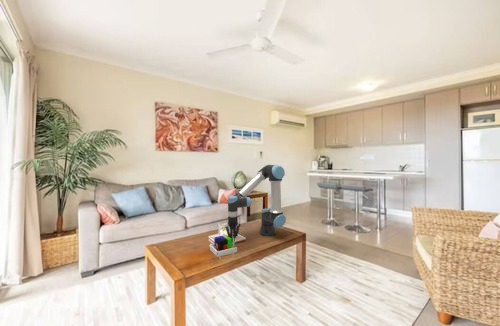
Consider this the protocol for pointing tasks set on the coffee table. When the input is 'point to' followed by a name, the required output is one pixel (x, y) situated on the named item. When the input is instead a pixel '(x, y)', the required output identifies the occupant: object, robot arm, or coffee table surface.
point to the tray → (223, 252)
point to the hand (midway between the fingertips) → (232, 245)
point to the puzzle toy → (222, 243)
